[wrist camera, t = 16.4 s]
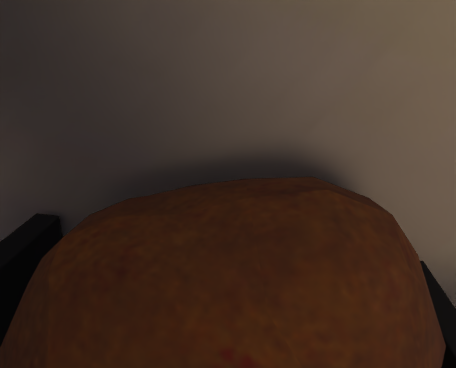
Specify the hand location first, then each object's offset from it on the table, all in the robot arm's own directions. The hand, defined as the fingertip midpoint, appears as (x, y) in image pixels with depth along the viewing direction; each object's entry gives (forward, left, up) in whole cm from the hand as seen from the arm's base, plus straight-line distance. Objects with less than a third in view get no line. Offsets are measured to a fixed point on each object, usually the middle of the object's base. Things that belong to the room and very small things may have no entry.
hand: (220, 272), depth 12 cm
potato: (0, 0, 0) cm, 0 cm away
